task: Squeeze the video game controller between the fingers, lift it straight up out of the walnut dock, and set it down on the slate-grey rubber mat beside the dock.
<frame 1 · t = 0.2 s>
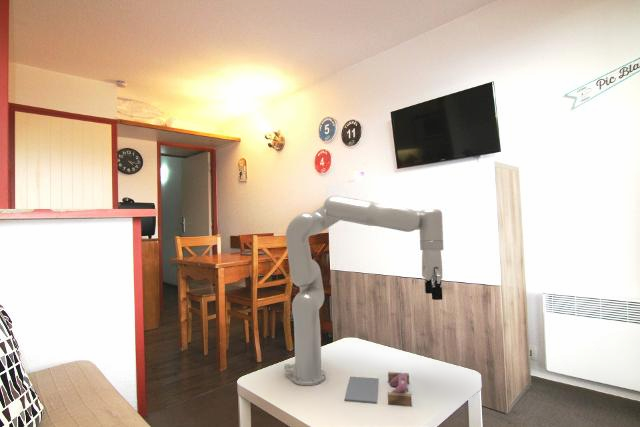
hand: (433, 296, 116), 30 cm above the table, tool pointing down, fingers open, 9 cm apart
dock: (399, 392, 112), on the table
mat: (362, 389, 114), on the table
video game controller: (398, 393, 112), on the table
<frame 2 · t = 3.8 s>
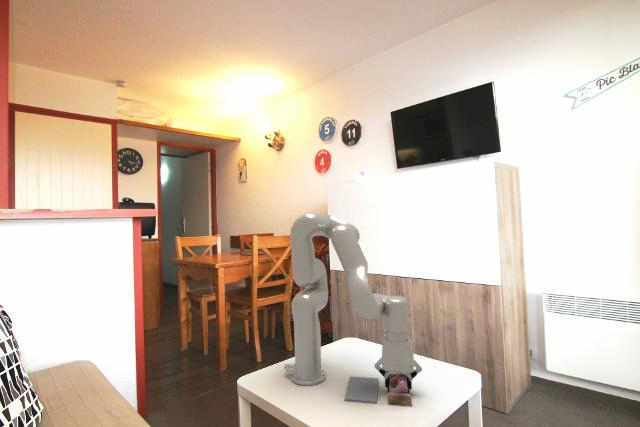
hand: (398, 389, 112), 1 cm above the table, tool pointing down, fingers closed on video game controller, 5 cm apart
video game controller: (398, 393, 112), on the table, touching gripper
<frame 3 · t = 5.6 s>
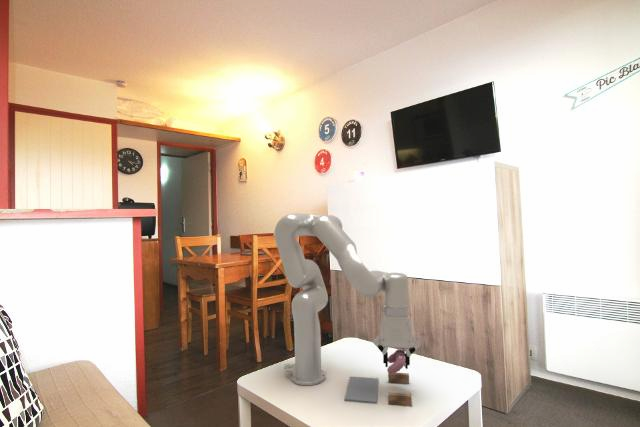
hand: (396, 365, 113), 9 cm above the table, tool pointing down, fingers closed on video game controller, 5 cm apart
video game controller: (396, 369, 112), point 8 cm above the table, touching gripper
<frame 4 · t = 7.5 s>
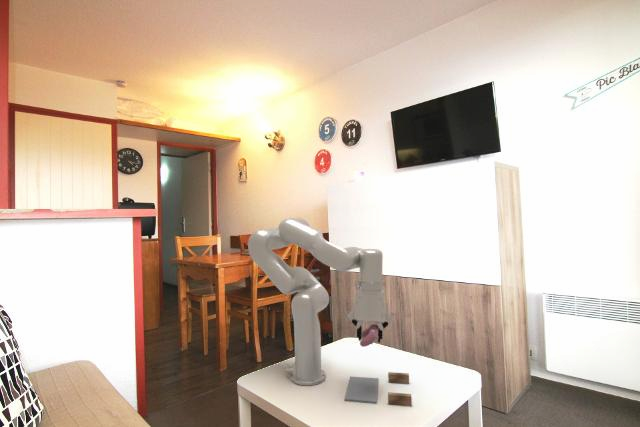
hand: (369, 339, 115), 17 cm above the table, tool pointing down, fingers closed on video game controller, 5 cm apart
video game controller: (369, 342, 114), point 16 cm above the table, touching gripper
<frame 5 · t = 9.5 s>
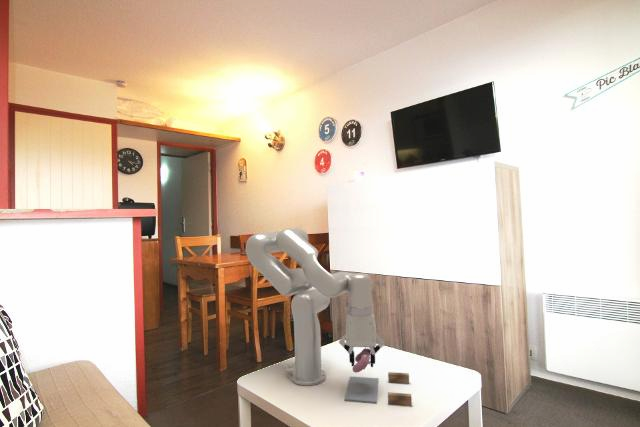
hand: (362, 364, 115), 8 cm above the table, tool pointing down, fingers closed on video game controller, 5 cm apart
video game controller: (362, 367, 114), point 7 cm above the table, touching gripper
when the fingers open (3 cm above the table, at t = 11.4 s): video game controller drops 2 cm, resting on mat.
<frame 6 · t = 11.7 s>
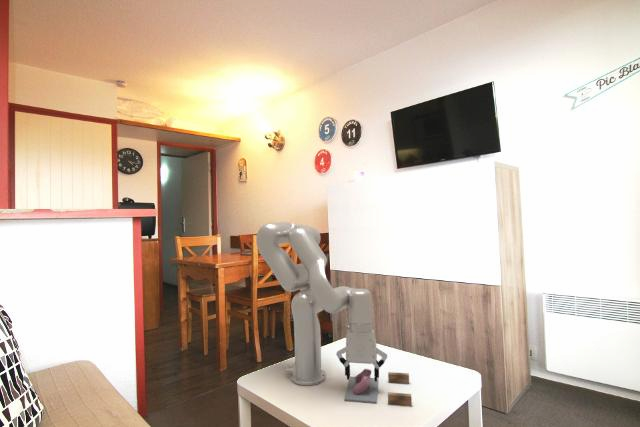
hand: (362, 378, 115), 4 cm above the table, tool pointing down, fingers open, 8 cm apart
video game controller: (362, 388, 114), resting on mat
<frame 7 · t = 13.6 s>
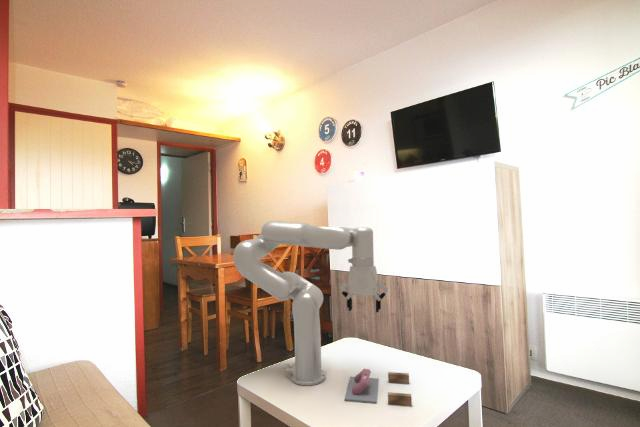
hand: (363, 310, 122), 25 cm above the table, tool pointing down, fingers open, 9 cm apart
nothing on the table moved.
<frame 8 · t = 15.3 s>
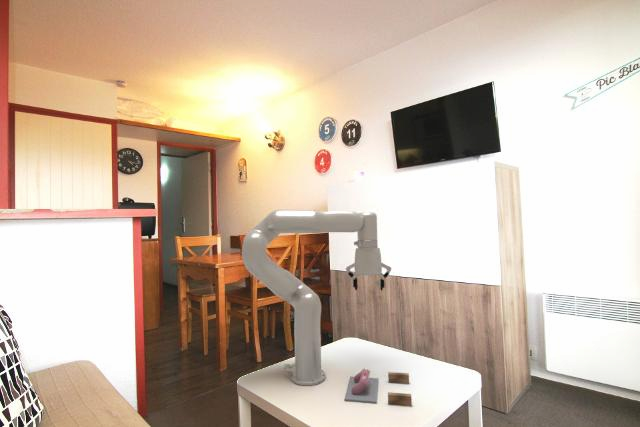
hand: (368, 289, 131), 30 cm above the table, tool pointing down, fingers open, 9 cm apart
nothing on the table moved.
at the end: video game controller inside the target area (0.4 cm from its centre), resting on mat; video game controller touching mat; the gripper is holding nothing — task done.
